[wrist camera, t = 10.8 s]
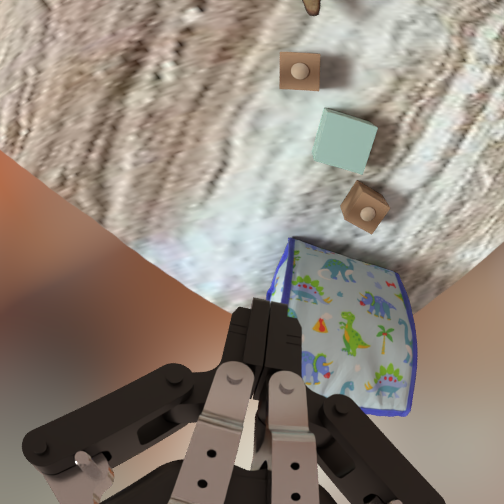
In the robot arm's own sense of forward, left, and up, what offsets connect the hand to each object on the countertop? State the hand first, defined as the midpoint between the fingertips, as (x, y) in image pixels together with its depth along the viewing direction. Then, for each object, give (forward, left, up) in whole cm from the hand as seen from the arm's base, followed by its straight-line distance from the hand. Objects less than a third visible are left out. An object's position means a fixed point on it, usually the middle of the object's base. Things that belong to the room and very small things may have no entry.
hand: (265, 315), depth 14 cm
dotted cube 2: (-10, 0, -37) cm, 38 cm away
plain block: (-2, +8, -37) cm, 38 cm away
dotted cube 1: (+7, +14, -37) cm, 40 cm away
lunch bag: (+24, +14, -37) cm, 47 cm away
